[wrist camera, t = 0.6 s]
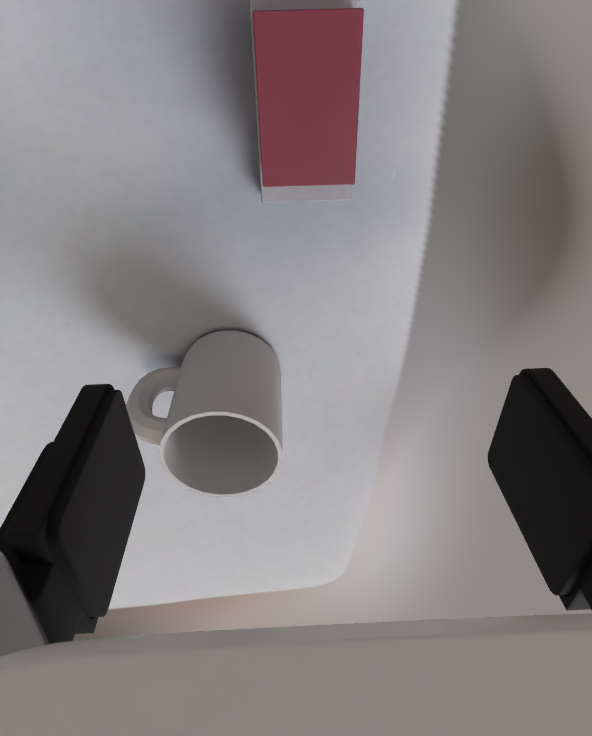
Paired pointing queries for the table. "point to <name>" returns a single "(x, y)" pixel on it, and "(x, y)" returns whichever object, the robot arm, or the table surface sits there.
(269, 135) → the maroon block on base
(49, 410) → the table surface
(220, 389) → the cup
